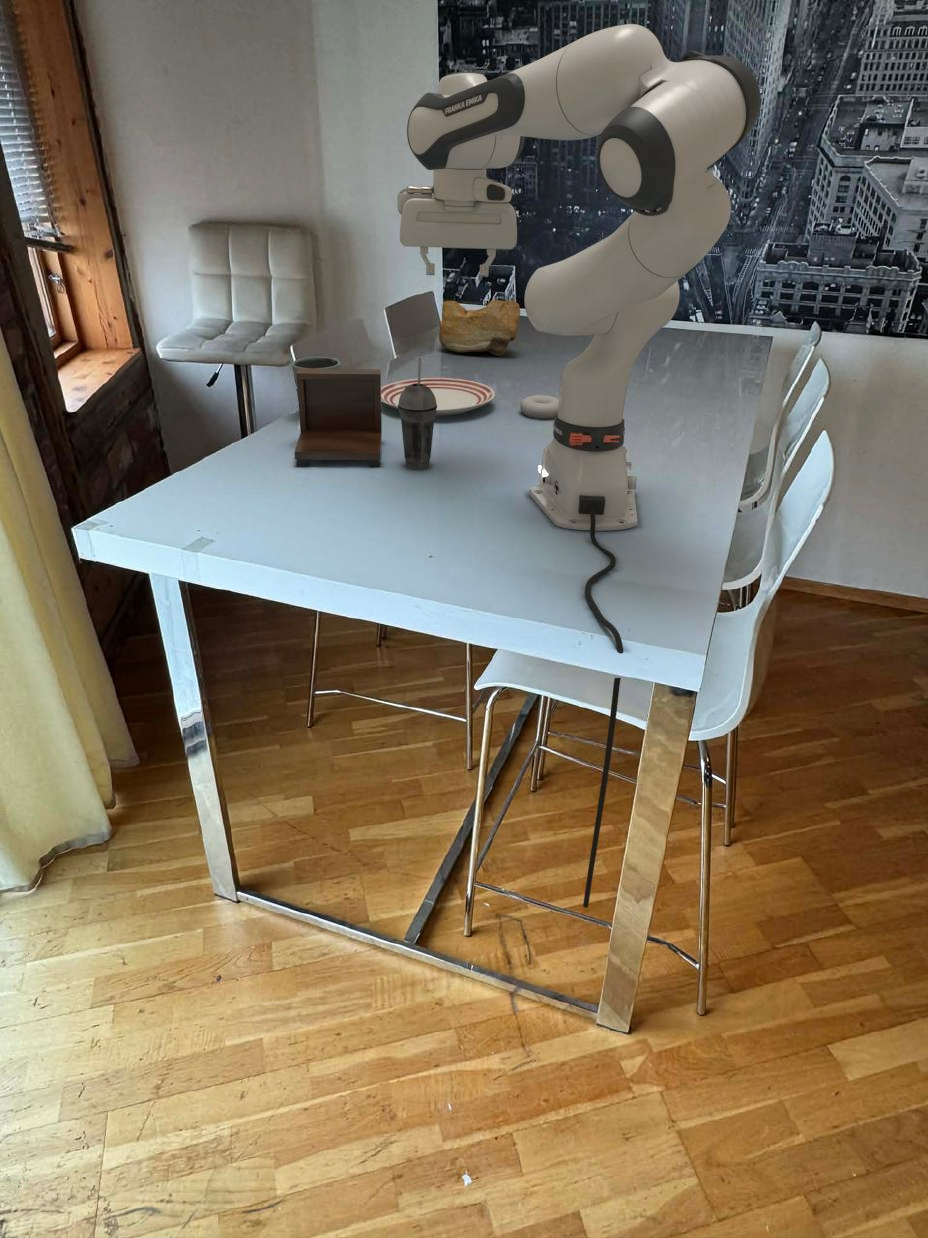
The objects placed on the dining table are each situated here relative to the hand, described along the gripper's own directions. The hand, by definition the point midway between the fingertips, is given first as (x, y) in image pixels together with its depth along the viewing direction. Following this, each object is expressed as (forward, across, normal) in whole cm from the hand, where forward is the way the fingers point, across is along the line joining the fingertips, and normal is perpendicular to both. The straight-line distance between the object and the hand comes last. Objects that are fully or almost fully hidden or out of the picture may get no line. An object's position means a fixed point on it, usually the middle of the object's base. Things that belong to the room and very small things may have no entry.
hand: (457, 275), depth 149 cm
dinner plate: (+34, -2, +36) cm, 50 cm away
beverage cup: (+34, -7, -4) cm, 35 cm away
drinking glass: (+34, -28, +26) cm, 51 cm away
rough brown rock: (+34, +13, +91) cm, 98 cm away
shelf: (+34, -22, +2) cm, 40 cm away
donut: (+34, +22, +30) cm, 50 cm away
